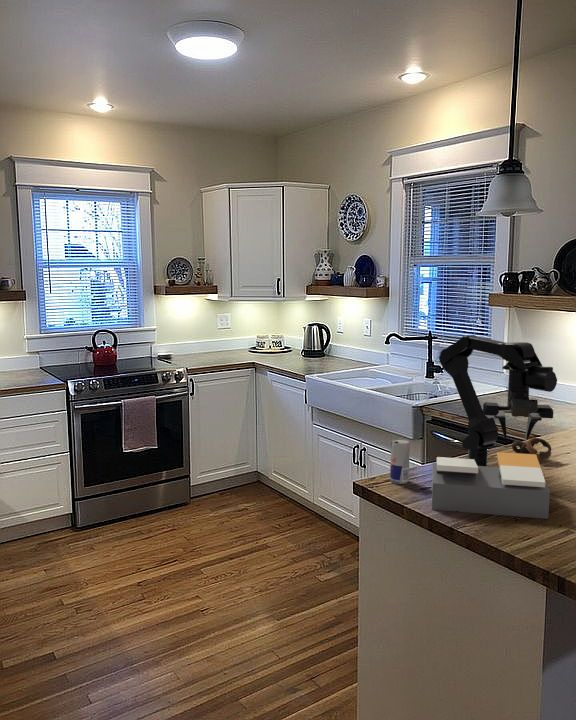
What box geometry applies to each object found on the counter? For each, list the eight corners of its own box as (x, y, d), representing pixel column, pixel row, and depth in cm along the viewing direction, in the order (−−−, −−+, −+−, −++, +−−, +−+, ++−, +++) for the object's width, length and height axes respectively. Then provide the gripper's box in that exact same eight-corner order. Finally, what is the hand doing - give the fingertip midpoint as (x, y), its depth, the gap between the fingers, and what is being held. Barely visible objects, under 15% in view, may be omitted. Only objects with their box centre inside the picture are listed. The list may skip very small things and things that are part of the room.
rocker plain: (436, 461, 179) (436, 456, 179) (473, 464, 177) (473, 459, 177) (437, 470, 163) (437, 465, 163) (478, 473, 161) (478, 467, 161)
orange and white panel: (496, 456, 175) (497, 452, 175) (535, 459, 173) (536, 454, 173) (502, 484, 160) (502, 479, 160) (545, 487, 158) (545, 482, 158)
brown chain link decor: (543, 457, 212) (553, 439, 207) (544, 477, 205) (554, 459, 200) (507, 446, 214) (516, 428, 209) (507, 465, 206) (516, 447, 201)
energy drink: (388, 478, 188) (389, 438, 187) (406, 478, 189) (407, 438, 187) (392, 484, 183) (393, 443, 181) (410, 484, 183) (412, 443, 182)
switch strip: (432, 486, 181) (433, 457, 180) (537, 494, 175) (538, 464, 174) (431, 509, 164) (433, 477, 163) (548, 518, 158) (550, 485, 157)
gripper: (487, 390, 178) (484, 444, 181) (558, 393, 174) (555, 448, 177) (484, 383, 189) (481, 434, 191) (551, 385, 185) (548, 438, 187)
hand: (515, 439), depth 186 cm, fingers open, 6 cm apart
